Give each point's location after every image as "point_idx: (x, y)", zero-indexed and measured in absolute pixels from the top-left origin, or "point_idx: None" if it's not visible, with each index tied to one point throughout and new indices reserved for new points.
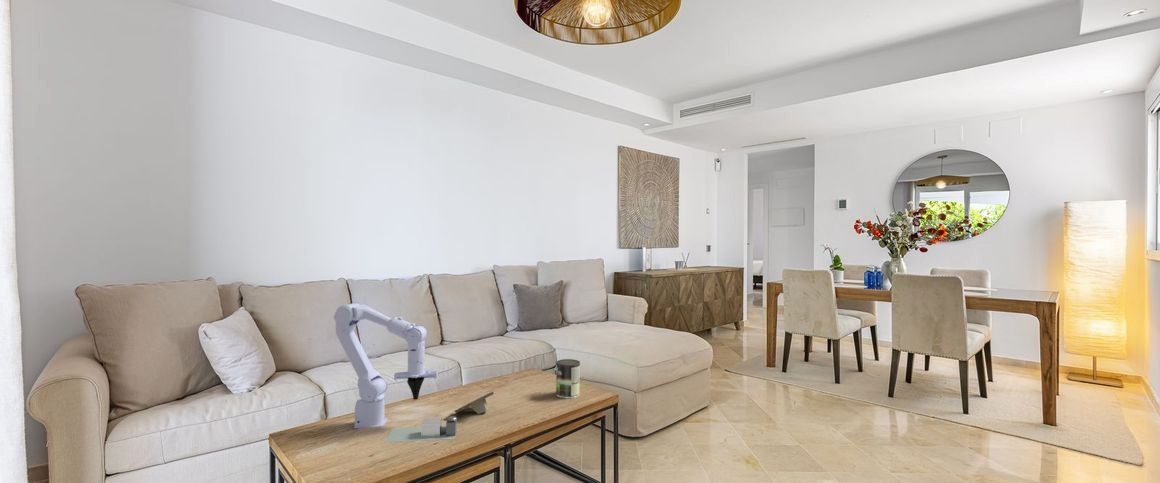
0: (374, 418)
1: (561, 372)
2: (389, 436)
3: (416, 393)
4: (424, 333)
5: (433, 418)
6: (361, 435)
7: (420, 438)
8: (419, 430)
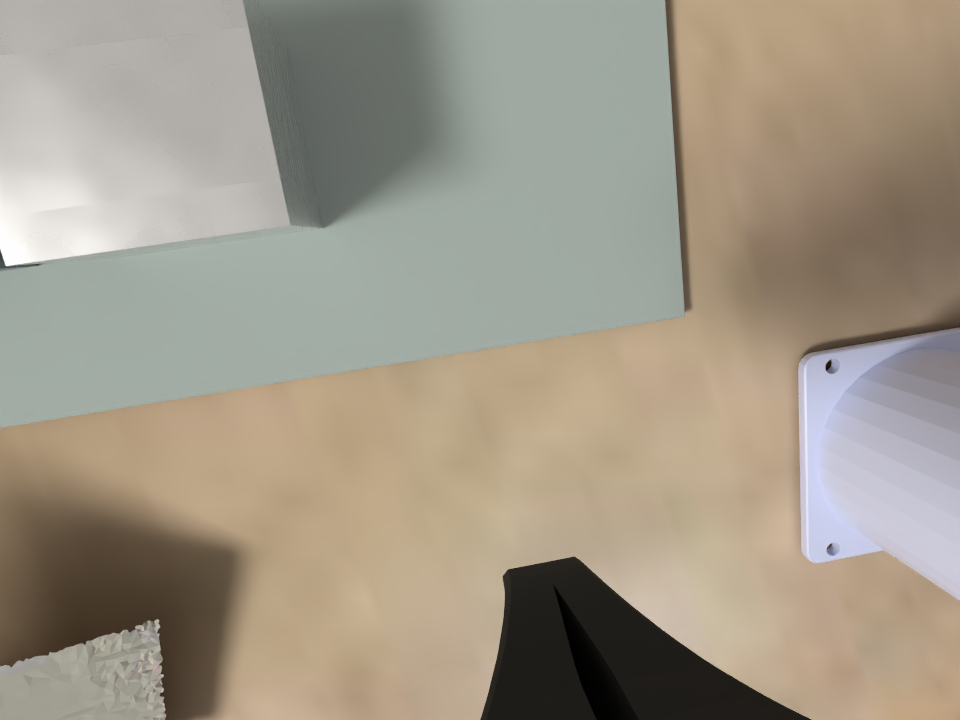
0: (949, 377)
1: None
2: (655, 81)
3: (540, 631)
4: None
5: (130, 223)
6: (938, 152)
7: (280, 10)
8: (382, 259)
